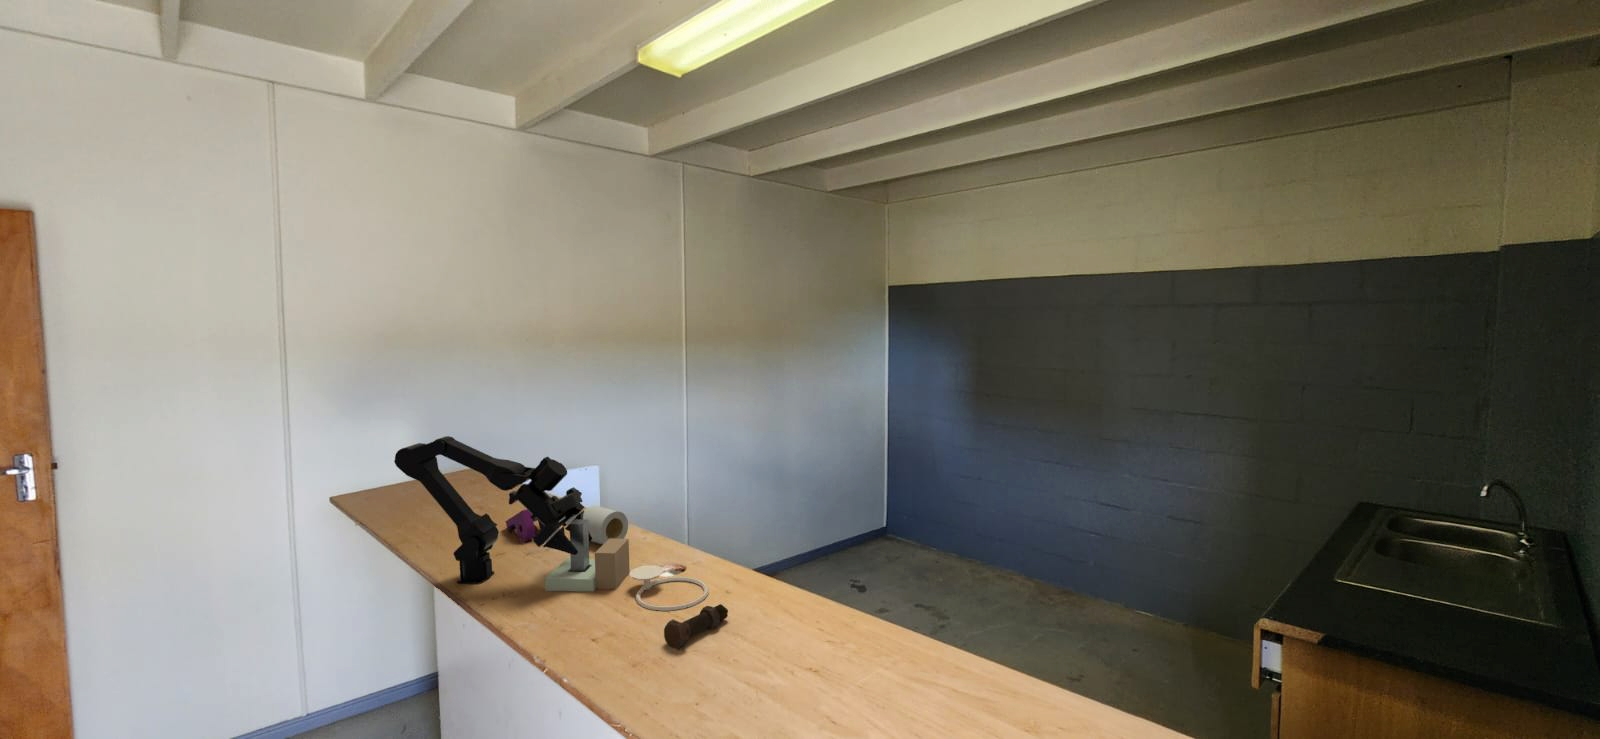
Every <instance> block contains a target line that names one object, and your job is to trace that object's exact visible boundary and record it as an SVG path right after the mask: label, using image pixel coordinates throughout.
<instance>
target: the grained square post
mask: <svg viewBox="0 0 1600 739" xmlns="http://www.w3.org/2000/svg"><path fill="white" fill-rule="evenodd" d="M569 540H570V542H571V543H572V544H573V545H574V546H575V548H576V549H577V550H578V553H577V554H576V555H573V554H570V553H569V555H570V557H569V558H571V572H586V571H587V570H588V569H589V558H590V545H589V544H590V543H589V532H588V520H581V519H575V520H574V521H572V522H571V523H570V531H569Z"/></svg>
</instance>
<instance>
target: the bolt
mask: <svg viewBox="0 0 1600 739" xmlns="http://www.w3.org/2000/svg"><path fill="white" fill-rule="evenodd" d="M728 614H729V610H728V608H727V607H726V606H724V605H723V604H718V605H716V606H710V605H705V606H703V607H702V608H701V610H700V612H699V614H697V615H695V616H693V617H691V618H688V619H687V620H685V621H682V622H680V621H677V620H675V619H671V620H669V621H668V622H667V623H666V624H665V627H664V629H663V636H664V637H663V638H664V640H665V642H666V644H667V646H668V647H670V648H672V649H674V648H675V649H674V650H680V648H681V649H682V648H684V647H685V645H686V643H687V641H688V639H689V638H690V637H692V636H694V635H695V634H698V633H699V632H702V631H704V630H708V629H709V630H708V631H712V629H713V630H715V629H716V628H718V626H719V624H720V622H721V621H723V620H726V619H727V618H728Z"/></svg>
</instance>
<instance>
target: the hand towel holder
mask: <svg viewBox="0 0 1600 739" xmlns="http://www.w3.org/2000/svg"><path fill="white" fill-rule="evenodd" d="M664 571H665V570H664V569H663V567H661V566H658V565H655V564H654V565H653V564H652V565H641V566H638V567H635V568H633V569H632V570H630V573H629V574H628V575H630V577H631V579H633V580H636V581H643V585H642V586H641V587H640V588H639V590H638V591H637V592H636V595H635V600H636V602H637V604H638V605H639V606H641V607H642V608H645V609H646V610H647V609H648V610H651V609H652V611H656V610H659V612H672V610H674V611H680V610H684V608H685V609H688V608H690V606H691V607H694V606H696V605H698V604H700V603H701V602H703V601H704V600H705V599H706V598H707V596H708V594H709V588H708V586H707V585H706V584H705V583H704V582H703V581H702V580H700V579H696V578H692V577H687V576H672V577H671V576H669V577H664V578H659V577H660V576H661V575H662V574H663V573H664ZM656 578H657V579H656ZM658 578H659V579H658ZM654 579H656V580H654ZM651 580H653V581H651ZM684 581H685V582H686V583H691V582H692V584H695V585H698V586H700V587H701V588H702V589H703V594H702V595H700V597H699V598H696V599H695V600H693V601H690V602H688V603H685V604H684V603H683V604H679V605H669V606H664V605H663V606H659V605H652V604H649V603H646V602H644V601H643V600H642V598H641V595H642V593H644V590H645V591H648V590H651V588H653V587H654V586H656V585H657V586H658V585H661V584H666V583H672V582H673V583H674V582H682V583H683V582H684ZM702 600H703V601H702ZM699 602H700V603H699ZM697 603H698V604H697ZM695 604H696V605H695ZM693 605H694V606H693ZM687 607H688V608H687ZM679 609H680V610H679Z"/></svg>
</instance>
